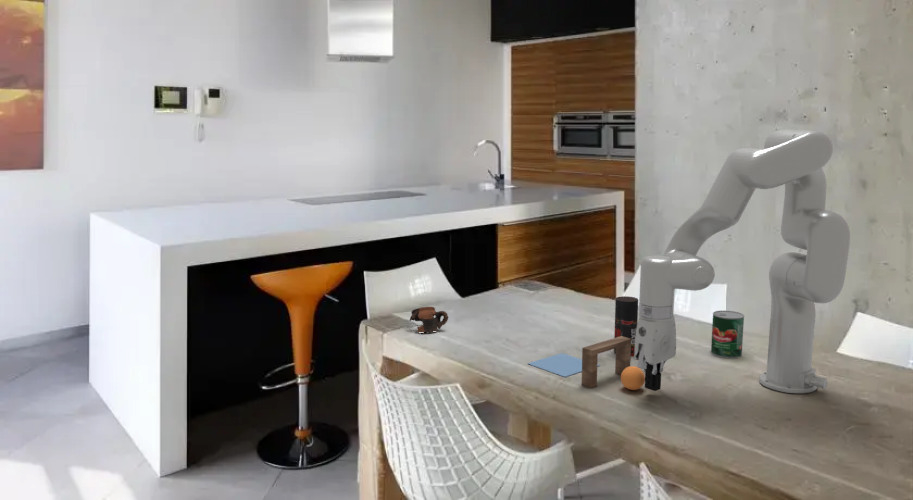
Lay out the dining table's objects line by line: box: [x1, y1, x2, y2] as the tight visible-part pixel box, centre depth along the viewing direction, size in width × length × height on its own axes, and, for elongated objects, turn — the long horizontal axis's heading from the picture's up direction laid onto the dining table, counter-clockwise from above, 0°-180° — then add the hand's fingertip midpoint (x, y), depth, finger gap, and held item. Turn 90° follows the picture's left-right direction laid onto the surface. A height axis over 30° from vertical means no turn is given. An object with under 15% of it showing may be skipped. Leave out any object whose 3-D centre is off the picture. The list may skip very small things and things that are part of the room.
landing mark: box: [527, 352, 600, 378], centre depth 190 cm, size 13×13×1 cm
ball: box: [620, 365, 645, 391], centre depth 172 cm, size 6×6×6 cm
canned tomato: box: [710, 310, 745, 359], centre depth 197 cm, size 8×8×11 cm
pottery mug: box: [409, 306, 449, 333], centre depth 222 cm, size 12×10×8 cm
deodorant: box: [613, 296, 639, 357], centre depth 198 cm, size 6×6×15 cm
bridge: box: [581, 336, 632, 389], centre depth 178 cm, size 3×14×9 cm, turn 129°
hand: (652, 388), depth 168 cm, fingers closed
